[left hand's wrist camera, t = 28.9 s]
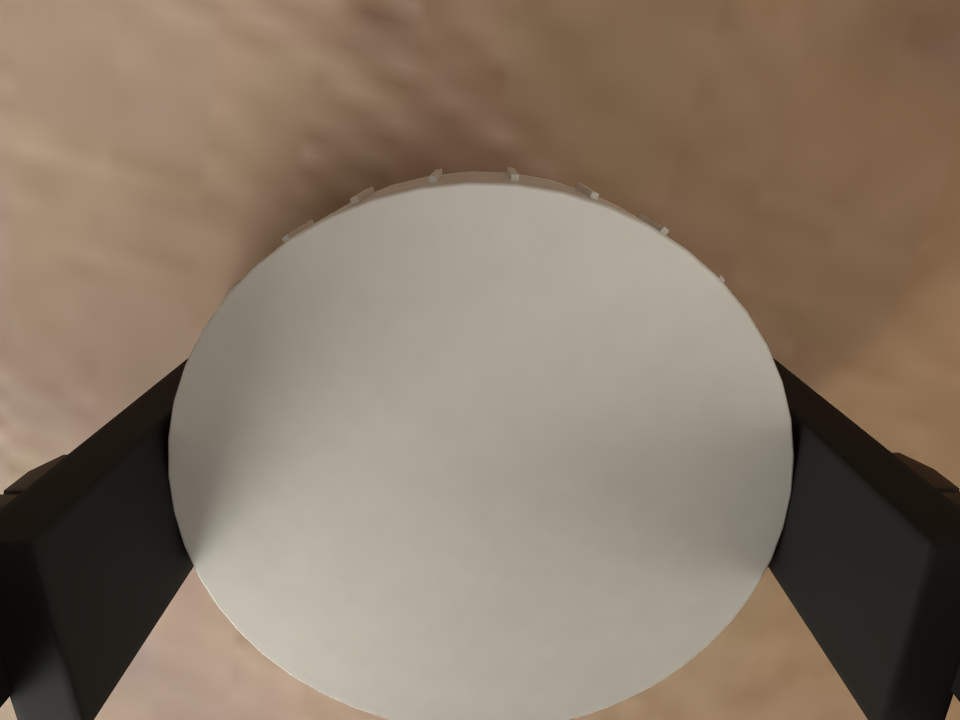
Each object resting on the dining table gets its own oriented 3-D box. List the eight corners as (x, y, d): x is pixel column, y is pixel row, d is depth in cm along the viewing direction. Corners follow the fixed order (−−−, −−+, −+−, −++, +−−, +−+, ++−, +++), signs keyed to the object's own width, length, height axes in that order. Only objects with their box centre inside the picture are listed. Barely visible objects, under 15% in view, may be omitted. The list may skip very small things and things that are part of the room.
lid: (200, 135, 10) (134, 138, 8) (810, 197, 10) (886, 214, 8) (224, 629, 13) (181, 714, 11) (686, 663, 14) (720, 752, 12)
